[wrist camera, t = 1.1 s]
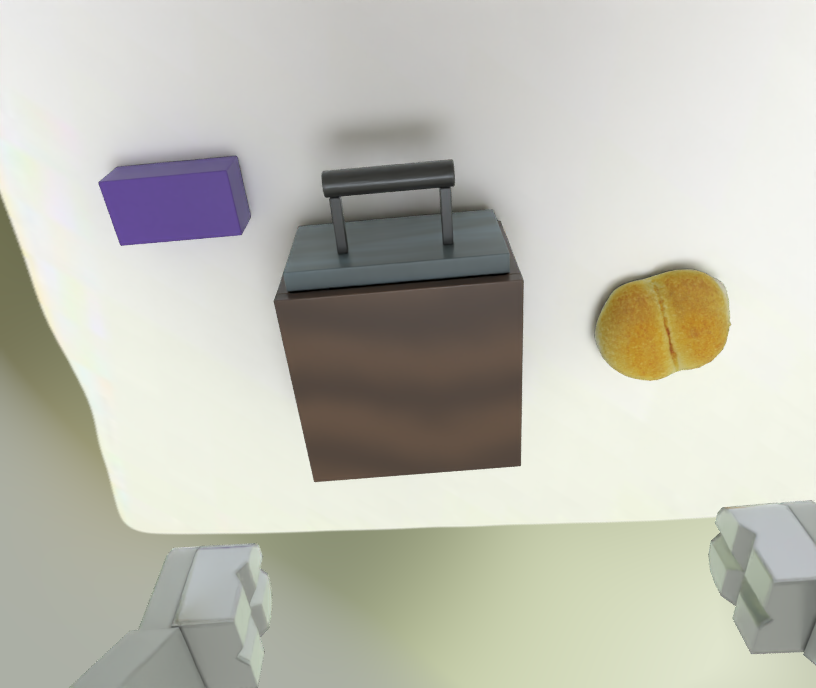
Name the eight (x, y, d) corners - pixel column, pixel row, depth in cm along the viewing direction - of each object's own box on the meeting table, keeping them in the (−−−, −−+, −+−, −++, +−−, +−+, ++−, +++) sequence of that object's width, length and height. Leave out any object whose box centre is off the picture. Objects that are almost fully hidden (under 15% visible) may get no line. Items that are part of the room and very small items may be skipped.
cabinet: (293, 238, 42) (273, 300, 35) (500, 220, 42) (523, 279, 34) (325, 402, 49) (313, 482, 42) (501, 388, 49) (521, 466, 42)
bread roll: (581, 290, 44) (597, 319, 41) (712, 250, 43) (740, 276, 40) (602, 381, 49) (618, 413, 45) (722, 347, 47) (748, 378, 44)
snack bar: (116, 166, 39) (97, 182, 37) (237, 155, 39) (226, 170, 36) (136, 227, 41) (119, 246, 39) (251, 217, 41) (242, 235, 39)
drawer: (284, 151, 38) (265, 189, 32) (492, 132, 38) (510, 167, 32) (327, 384, 47) (318, 446, 41) (495, 371, 47) (509, 431, 41)
